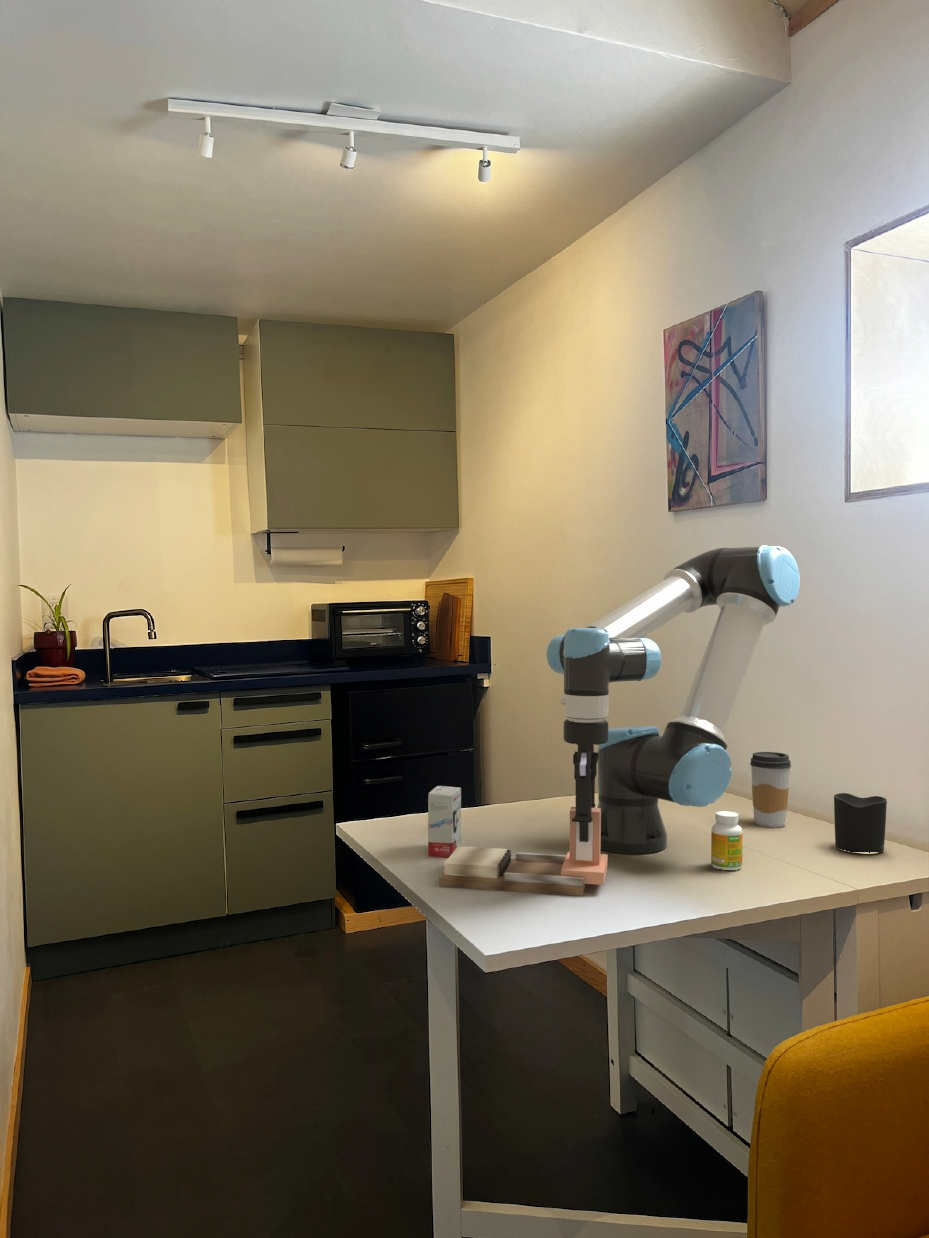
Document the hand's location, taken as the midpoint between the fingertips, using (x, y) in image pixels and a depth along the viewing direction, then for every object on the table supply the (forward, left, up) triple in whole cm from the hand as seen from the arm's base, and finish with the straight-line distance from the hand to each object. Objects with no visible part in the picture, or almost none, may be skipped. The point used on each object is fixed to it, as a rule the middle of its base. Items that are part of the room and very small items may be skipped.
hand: (585, 856), depth 158 cm
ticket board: (+12, 0, -5) cm, 13 cm away
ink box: (+28, -14, -5) cm, 32 cm away
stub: (0, 0, -3) cm, 3 cm away
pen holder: (-50, -33, -5) cm, 60 cm away
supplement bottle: (-24, -15, -5) cm, 29 cm away
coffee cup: (-35, -50, -5) cm, 61 cm away
